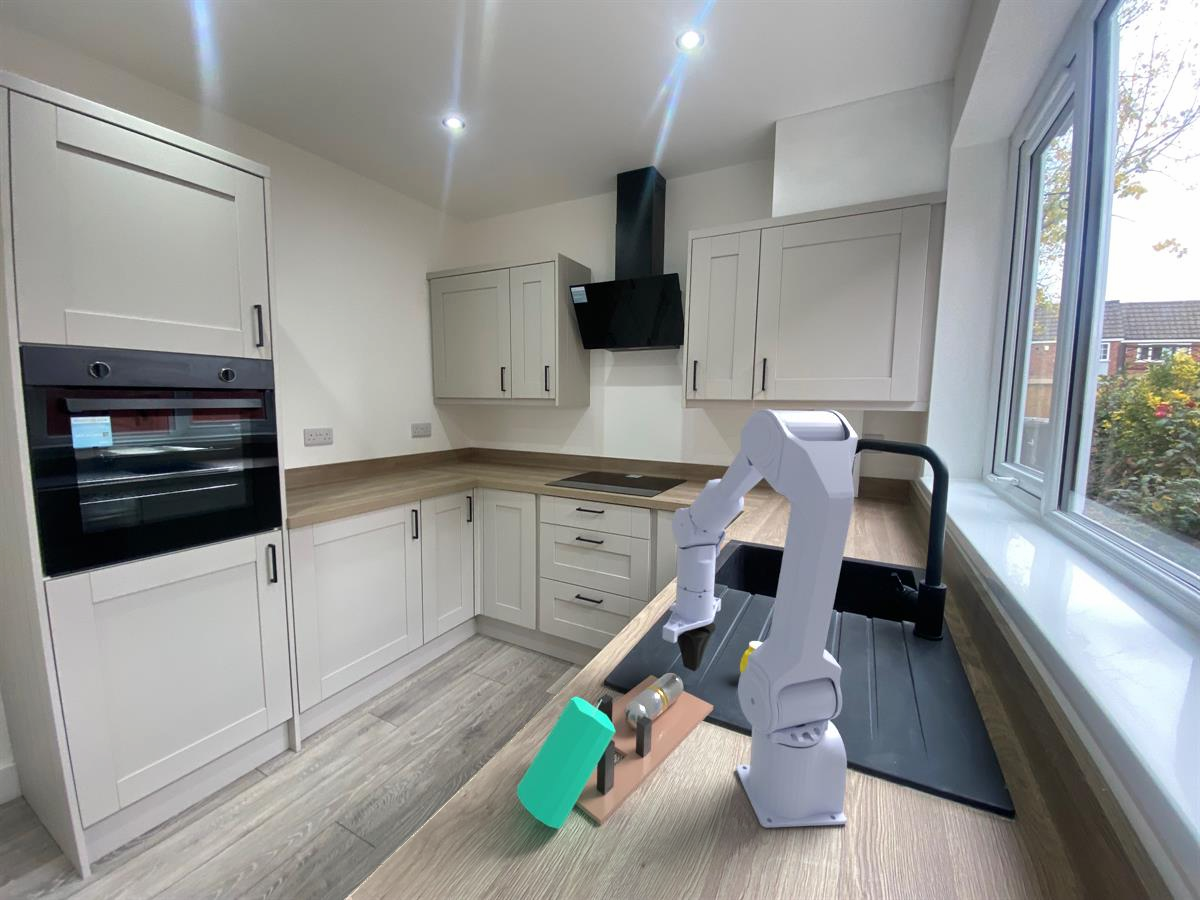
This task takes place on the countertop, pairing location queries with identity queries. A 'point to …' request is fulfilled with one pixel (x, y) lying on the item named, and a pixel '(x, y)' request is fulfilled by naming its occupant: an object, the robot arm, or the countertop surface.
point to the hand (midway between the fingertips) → (691, 667)
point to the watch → (744, 660)
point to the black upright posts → (607, 760)
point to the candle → (565, 762)
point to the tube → (654, 699)
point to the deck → (633, 767)
